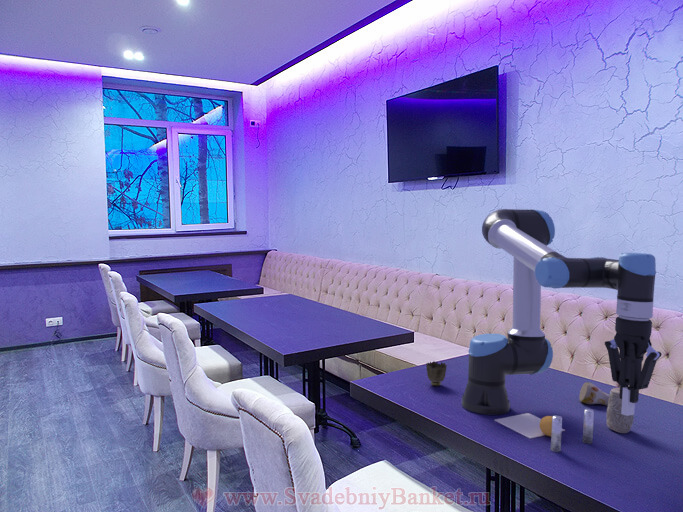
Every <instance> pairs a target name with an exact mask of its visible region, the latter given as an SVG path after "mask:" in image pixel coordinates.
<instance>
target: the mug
mask: <svg viewBox="0 0 683 512" xmlns="http://www.w3.org/2000/svg"><path fill="white" fill-rule="evenodd" d="M578 398H579V401H580V402H582V403H583V404H586V405H603V406H605V407H608V401H609V398H610V393H607V392H604V391H603V390H602V389H600V388H599V387H598V386H596V385H595V384H594V383H591V382H588V381H586V382H584V383H583V384H582V386H581V388H580V391H579V396H578Z"/></svg>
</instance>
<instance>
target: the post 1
mask: <svg viewBox="0 0 683 512" xmlns="http://www.w3.org/2000/svg"><path fill="white" fill-rule="evenodd" d="M551 416H552V433H551V436H550V439H551V440H550V451H552V452H554V453H561V450H562V449H561V446H562V432H563V431H562V429H563V417H562V416H560V415H551Z"/></svg>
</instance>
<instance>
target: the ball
mask: <svg viewBox="0 0 683 512" xmlns="http://www.w3.org/2000/svg"><path fill="white" fill-rule="evenodd" d="M552 416H553V415H546V416H543V417H542V418H540V419H541V421H540V429H541V431H542V432H543V433H544V434H545V435H544V436H547V437H551V433H552Z"/></svg>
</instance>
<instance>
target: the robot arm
mask: <svg viewBox="0 0 683 512" xmlns="http://www.w3.org/2000/svg"><path fill="white" fill-rule="evenodd" d="M482 222H483V223H482V225H481V233H482V236H483V239H484V240H485V241H486V242H487V243H488V244H489V245H491V246H492V247H493V248H496V249H500V250H501V249H502V250H503V251H505V252H506V253H507V254H509V255H511V257H513V268H512V269H513V274H512V275H513V276H512V279H513V280H512V281H513V282H512V283H513V284H512V288H513V289H512V327H511V328H510V329H509V330H508V331H507V336H506V335H504V334H501V333H483V334H482V333H481V334H478V335H475V336H473V337H472V338H471V339H470V341H469V347H468V370H467V371H468V375H467V376H468V377H467V384H466V387H465V390H464V393H463V394H462V396H461V406H462V407H463V408H464V409H466V410H467V411H470V412H473V413H476V414H479V415H487V416H488V415H489V416H498V415H499V416H500V415H505V414H507V413H509V412H510V408H511V402H510V399H509V395H508V392H507V391H508V390H507V388H506V376H511V375H512V376H513V375H530V376H531V375H535V374H543V373H545V372H546V371H547V370H549V368H550V367H551V365H552V363H553V358H554V351H553V347H551V346H552V344H551V342H550V341H549V339H547V338H546V333H545V332H544V331H543V330H542V329H541V310H542V309H541V306H542V303H541V302H542V301H541V297H542V295H541V294H542V287H543V288H550V289H563V288H565V289H569V288H570V289H574V288H575V289H577V288H584V289H586V288H589V289H593V288H596V289H598V288H600V289H601V288H603V289H612V290H615V291H617V294H616V307H615V309H616V310H615V311H616V312H615V314H616V315H617V317H616V318H615V324H614V325H615V327H614V330H615V335H614V336H613V337H614V338H613V339H611V340H607V341H604V345H605V348H606V349H607V355H608V360H609V366H610V374H611V380H612V381H613V382H616V383H617V384H618V385H619V388H620V395H619V397H620V399H622V410H621V414H623V415H626V416H629V415H634V416H635V410H636V403H638V402H639V396H640V393H639V392H640V390H645V389H648V388H649V385H650V382H651V379H652V377H653V374H654V370H655V367H656V364H657V361H658V360H659V359H660V358H661V357H662V355H663V354H662V352H661V351H656V349H654V347H652V346H653V345H652V344H653V343H652V342H651V336H652V328H653V321H652V320H651V319H652V318H653V315H654V312H653V311H654V296H655V295H654V293H655V284H656V283H655V282H656V281H655V280H656V274H657V270H656V257H655V256H654V255H653V254H651V253H645V252H643V253H641V252H640V253H639V252H621V253H620V254H619V258H618V259H614V258H607V257H602V256H601V257H598V256H597V257H588V258H587V257H585V258H584V257H583V258H580V257H567V256H565V255H563V254H561V253H559V252H557V251H556V250H554V249H553V248H551V247H549V245H551V244H552V242H553V240H554V239H555V236H556V235H555V234H556V228H555V227H556V226H555V223H554V220H553V219H552V217H551V216H550V214H549V213H548V212H546V211H544V210H539V209H531V208H530V209H520V208H519V209H517V208H515V209H513V208H512V209H510V208H509V209H508V208H501V209H497V210H494V211H492V212H491V213H490V214H488V215H487V216H486V217H485V218H484V220H483V221H482ZM644 357H645V360H644ZM643 361H644V362H643Z"/></svg>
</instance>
